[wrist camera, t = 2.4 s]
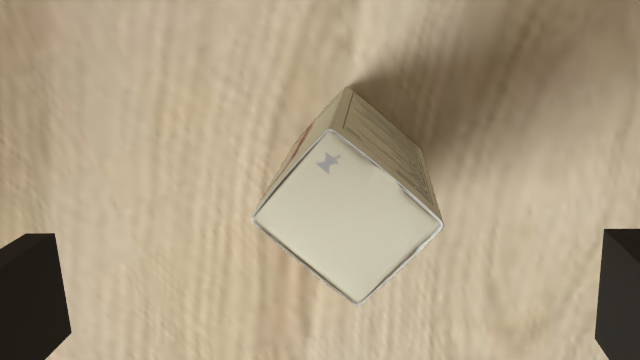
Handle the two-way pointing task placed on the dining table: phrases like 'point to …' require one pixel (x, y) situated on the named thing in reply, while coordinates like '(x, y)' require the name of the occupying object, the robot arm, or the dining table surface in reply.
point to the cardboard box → (351, 199)
